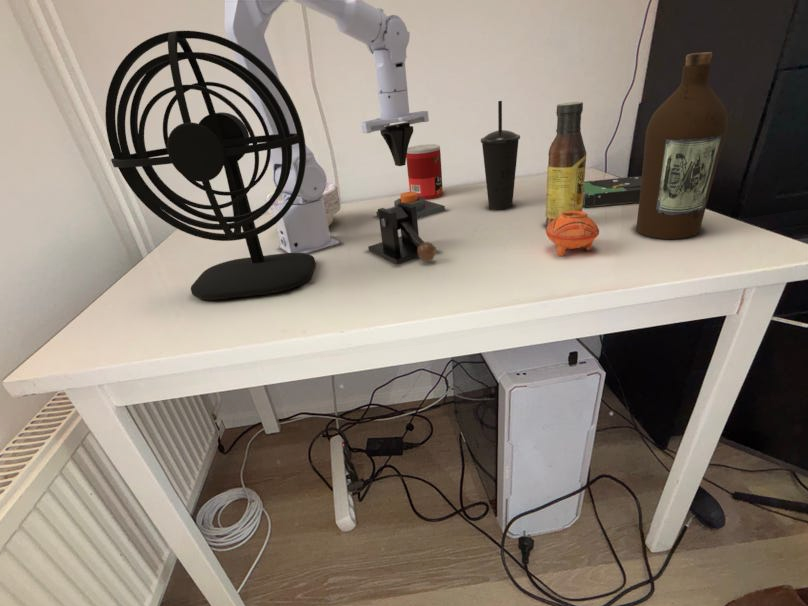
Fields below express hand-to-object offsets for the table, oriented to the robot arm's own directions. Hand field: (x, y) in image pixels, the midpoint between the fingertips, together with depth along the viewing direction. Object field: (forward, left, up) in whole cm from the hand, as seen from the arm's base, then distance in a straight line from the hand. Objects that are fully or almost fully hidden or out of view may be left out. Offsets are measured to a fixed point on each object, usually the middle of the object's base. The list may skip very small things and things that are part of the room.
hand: (400, 165), depth 101 cm
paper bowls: (-20, +9, -10) cm, 24 cm away
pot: (+5, -41, -10) cm, 43 cm away
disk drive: (+33, -27, -10) cm, 44 cm away
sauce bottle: (+14, -31, -10) cm, 36 cm away
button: (0, -1, -7) cm, 8 cm away
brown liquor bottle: (+22, -46, -10) cm, 53 cm away
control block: (0, -1, -10) cm, 10 cm away
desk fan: (-39, -13, -10) cm, 42 cm away
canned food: (+11, +9, -10) cm, 18 cm away
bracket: (-14, -20, -10) cm, 27 cm away
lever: (-14, -24, -7) cm, 28 cm away
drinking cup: (+15, -13, -10) cm, 23 cm away
